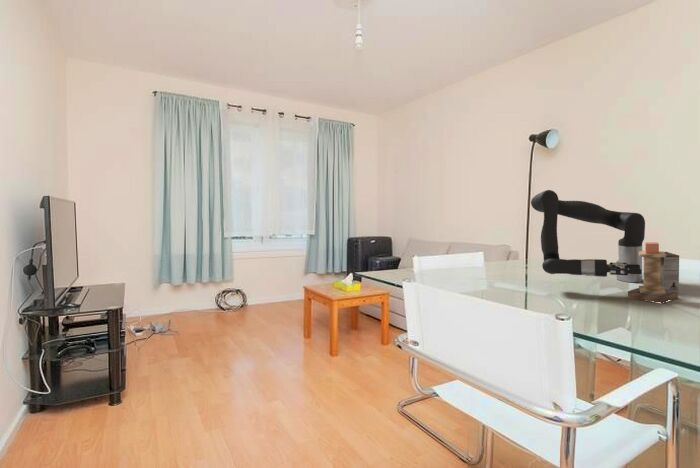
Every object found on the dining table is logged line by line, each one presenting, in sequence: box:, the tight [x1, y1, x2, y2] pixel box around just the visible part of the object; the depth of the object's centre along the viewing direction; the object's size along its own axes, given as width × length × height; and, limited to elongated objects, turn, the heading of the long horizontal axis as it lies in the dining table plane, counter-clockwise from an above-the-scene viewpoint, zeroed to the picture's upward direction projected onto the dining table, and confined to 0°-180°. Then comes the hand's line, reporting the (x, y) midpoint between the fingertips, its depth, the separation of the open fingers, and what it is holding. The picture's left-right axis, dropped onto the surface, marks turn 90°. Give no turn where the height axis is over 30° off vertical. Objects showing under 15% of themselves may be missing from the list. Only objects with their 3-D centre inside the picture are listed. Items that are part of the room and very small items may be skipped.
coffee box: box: [660, 251, 680, 293], centre depth 160 cm, size 9×6×16 cm
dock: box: [627, 287, 679, 303], centre depth 151 cm, size 12×12×3 cm
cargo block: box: [644, 241, 660, 254], centre depth 149 cm, size 4×4×4 cm
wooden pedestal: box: [638, 250, 666, 294], centre depth 150 cm, size 8×8×16 cm
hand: (640, 269), depth 152 cm, fingers open, 8 cm apart
